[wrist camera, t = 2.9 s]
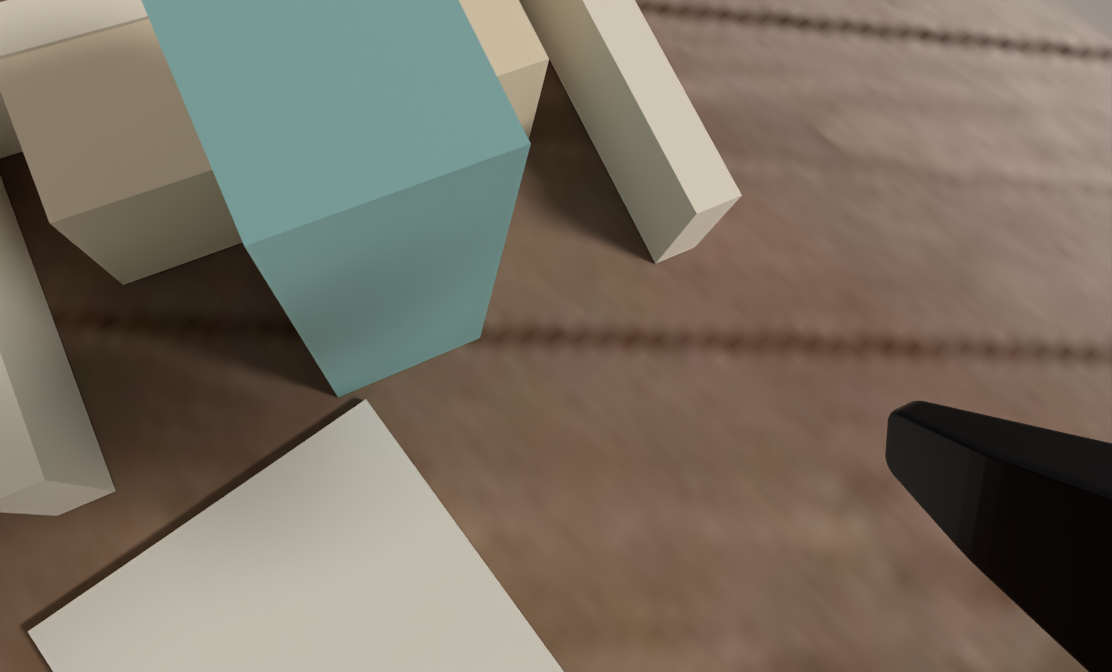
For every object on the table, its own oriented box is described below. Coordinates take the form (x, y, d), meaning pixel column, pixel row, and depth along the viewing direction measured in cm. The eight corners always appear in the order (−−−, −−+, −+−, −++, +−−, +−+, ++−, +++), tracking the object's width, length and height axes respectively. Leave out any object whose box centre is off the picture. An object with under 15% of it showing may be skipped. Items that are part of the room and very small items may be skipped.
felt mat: (575, 688, 21) (577, 690, 21) (254, 975, 18) (251, 982, 18) (366, 400, 22) (365, 399, 22) (33, 630, 20) (27, 631, 19)
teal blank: (479, 337, 23) (530, 144, 12) (337, 397, 22) (243, 246, 11) (420, 211, 24) (415, -87, 13) (280, 262, 23) (135, -14, 12)
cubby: (694, 247, 25) (748, 187, 21) (56, 516, 20) (-43, 509, 16) (539, -46, 27) (560, -155, 23) (-77, 132, 22) (-198, 35, 18)
